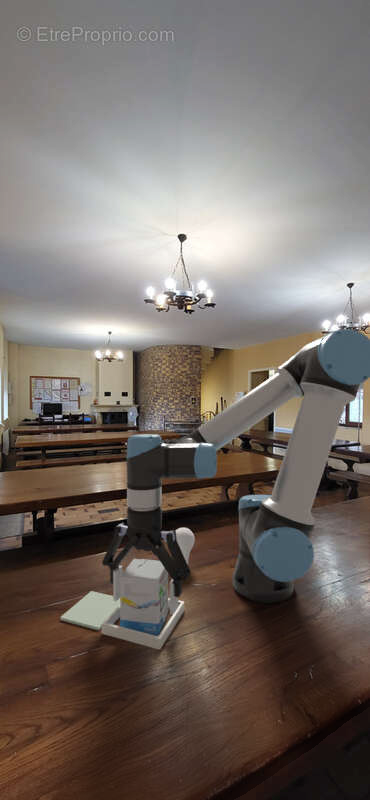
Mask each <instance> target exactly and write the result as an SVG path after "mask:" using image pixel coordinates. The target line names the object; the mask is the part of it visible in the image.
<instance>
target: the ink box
mask: <svg viewBox="0 0 370 800" xmlns="http://www.w3.org/2000/svg"><path fill="white" fill-rule="evenodd" d="M168 598H169V573H168V572H167V571H166V569H165V568H164V566H163V565H162V563H161V562H160V560H155V559H147V558H133V559H132V560H131V562H130V563H129V564H128V565H127V567H126V568H125V569H124V570H123V573H122V575H121V576H120V617H119V622H120V623H119V624H120V627H124V628H128V629H132V630H136V631H139V632H143V633H147V634H151V635H155V636H159V635H160V633H161V632H162V630H163V629H162V628H163V626H164V623H165V621H166V618H167V616H168V614H169V608H168Z"/></svg>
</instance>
